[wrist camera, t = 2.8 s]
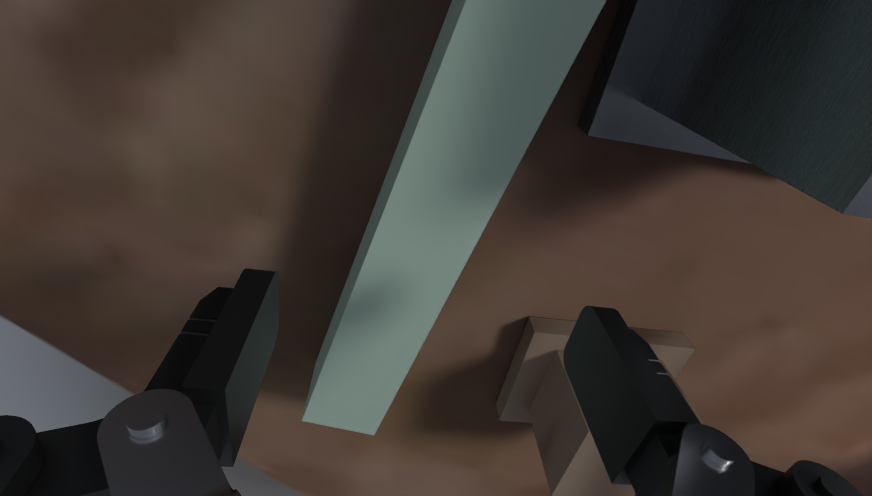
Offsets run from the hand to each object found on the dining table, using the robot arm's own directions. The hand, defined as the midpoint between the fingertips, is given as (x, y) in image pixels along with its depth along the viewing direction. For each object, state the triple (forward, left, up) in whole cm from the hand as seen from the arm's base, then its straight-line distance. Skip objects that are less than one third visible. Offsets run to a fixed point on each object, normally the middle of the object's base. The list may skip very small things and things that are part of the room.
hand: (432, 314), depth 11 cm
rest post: (-11, +10, -8) cm, 17 cm away
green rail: (0, 0, -9) cm, 9 cm away
